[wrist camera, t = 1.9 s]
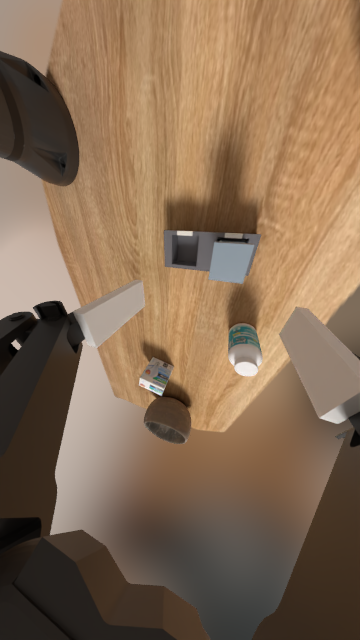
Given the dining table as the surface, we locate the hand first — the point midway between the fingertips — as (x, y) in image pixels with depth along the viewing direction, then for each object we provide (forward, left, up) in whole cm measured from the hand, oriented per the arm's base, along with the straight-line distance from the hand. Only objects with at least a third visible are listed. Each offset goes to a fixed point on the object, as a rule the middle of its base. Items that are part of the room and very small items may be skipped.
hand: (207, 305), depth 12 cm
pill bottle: (+19, +10, -24) cm, 32 cm away
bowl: (+77, -11, -24) cm, 82 cm away
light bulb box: (+46, -17, -24) cm, 55 cm away
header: (-2, -3, -24) cm, 24 cm away
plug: (-2, +1, -23) cm, 23 cm away
